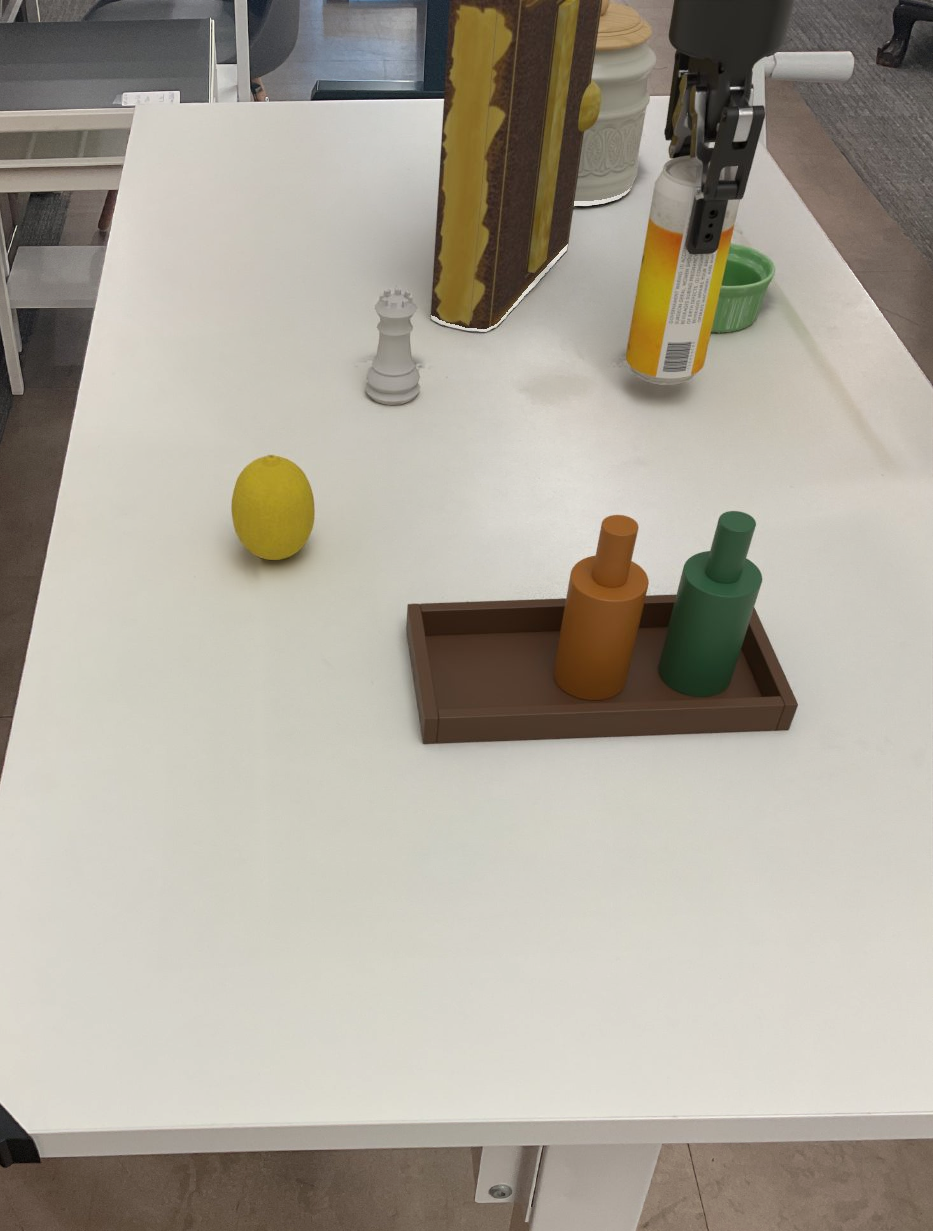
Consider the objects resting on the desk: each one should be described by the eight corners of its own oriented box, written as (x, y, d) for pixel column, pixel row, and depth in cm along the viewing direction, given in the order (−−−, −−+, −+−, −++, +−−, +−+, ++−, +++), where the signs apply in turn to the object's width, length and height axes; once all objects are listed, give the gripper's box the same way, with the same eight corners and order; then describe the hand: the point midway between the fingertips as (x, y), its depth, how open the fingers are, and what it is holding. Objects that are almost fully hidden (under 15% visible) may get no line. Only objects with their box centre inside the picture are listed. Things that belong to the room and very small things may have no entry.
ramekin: (639, 299, 112) (648, 249, 109) (728, 284, 114) (740, 234, 110) (689, 344, 106) (701, 293, 103) (782, 328, 108) (796, 277, 105)
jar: (481, 184, 129) (498, -16, 116) (562, 150, 135) (587, -43, 122) (579, 221, 123) (609, 15, 110) (660, 185, 129) (697, -16, 116)
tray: (737, 624, 81) (748, 591, 79) (786, 737, 74) (798, 704, 72) (405, 636, 81) (407, 603, 79) (422, 751, 73) (424, 718, 72)
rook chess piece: (379, 412, 99) (382, 313, 93) (355, 386, 102) (357, 289, 96) (429, 399, 100) (436, 302, 94) (404, 374, 103) (409, 278, 97)
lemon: (318, 581, 84) (317, 477, 79) (236, 586, 84) (229, 482, 78) (312, 534, 88) (310, 431, 82) (233, 538, 88) (226, 435, 82)
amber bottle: (617, 652, 78) (651, 500, 70) (632, 699, 75) (669, 547, 67) (547, 655, 78) (572, 503, 70) (560, 702, 75) (588, 550, 67)
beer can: (685, 347, 102) (725, 149, 91) (713, 384, 98) (760, 181, 87) (613, 355, 101) (645, 157, 90) (639, 392, 97) (676, 189, 86)
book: (500, 339, 107) (537, 0, 88) (410, 318, 110) (427, -15, 91) (589, 241, 120) (636, -73, 101) (506, 224, 123) (538, -84, 104)
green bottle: (720, 648, 78) (765, 497, 70) (739, 695, 75) (789, 543, 67) (650, 651, 78) (688, 499, 70) (667, 698, 75) (708, 545, 67)
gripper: (837, -9, 74) (767, 273, 87) (767, -70, 84) (714, 192, 97) (711, -4, 74) (660, 278, 87) (656, -65, 84) (617, 196, 96)
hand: (688, 231), depth 92 cm, fingers closed on beer can, 6 cm apart
